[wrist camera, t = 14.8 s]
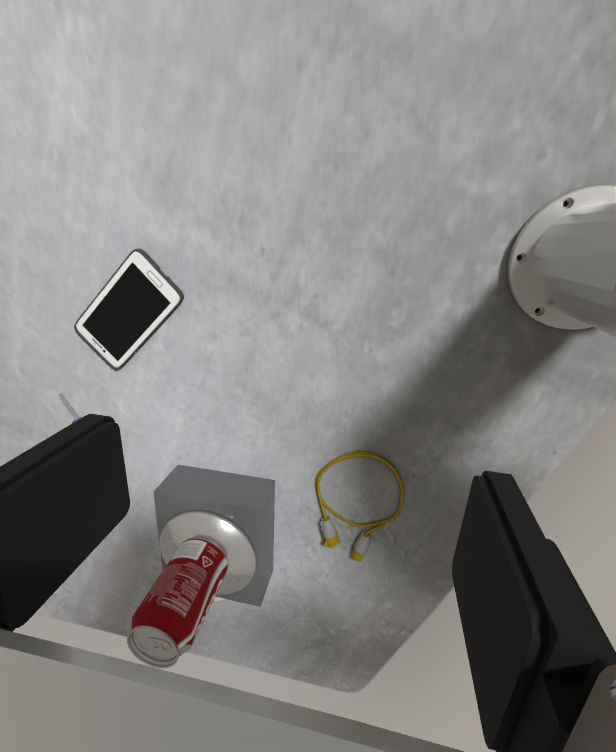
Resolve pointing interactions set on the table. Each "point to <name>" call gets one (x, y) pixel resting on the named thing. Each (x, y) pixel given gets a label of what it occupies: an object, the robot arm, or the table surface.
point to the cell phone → (128, 309)
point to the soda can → (177, 603)
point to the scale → (225, 514)
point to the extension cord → (329, 529)
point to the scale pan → (218, 532)
